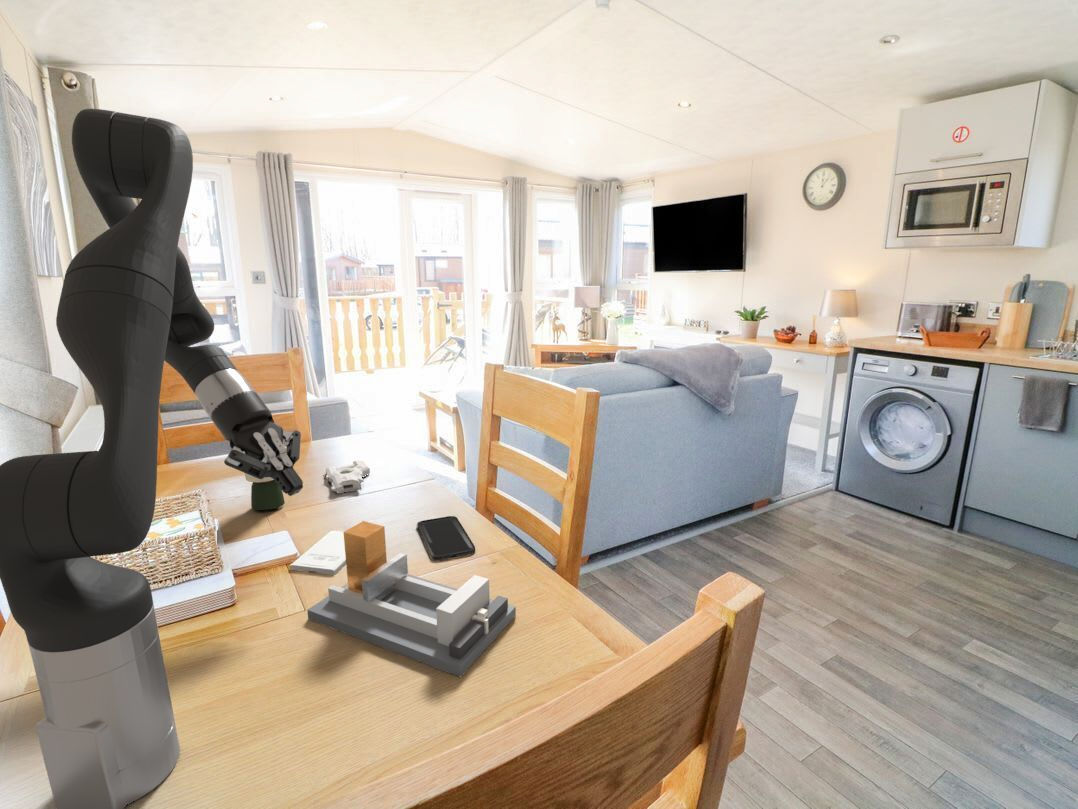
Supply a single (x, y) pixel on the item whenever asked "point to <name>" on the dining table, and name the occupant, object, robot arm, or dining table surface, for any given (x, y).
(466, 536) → the phone
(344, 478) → the white mechanical part
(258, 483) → the character mug
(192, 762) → the dining table surface
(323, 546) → the external hard drive
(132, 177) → the robot arm
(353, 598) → the bench vise
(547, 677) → the dining table surface
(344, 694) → the dining table surface
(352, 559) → the block
